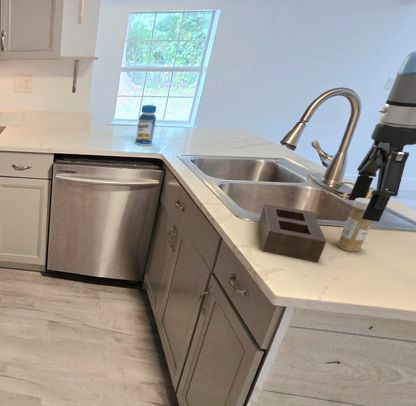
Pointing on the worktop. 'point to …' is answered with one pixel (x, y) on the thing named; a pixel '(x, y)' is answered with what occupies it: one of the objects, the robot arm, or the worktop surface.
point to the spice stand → (291, 233)
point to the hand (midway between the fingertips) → (362, 209)
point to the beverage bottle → (146, 125)
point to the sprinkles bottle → (355, 227)
